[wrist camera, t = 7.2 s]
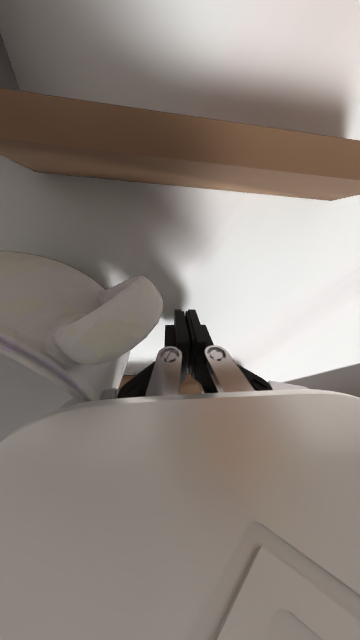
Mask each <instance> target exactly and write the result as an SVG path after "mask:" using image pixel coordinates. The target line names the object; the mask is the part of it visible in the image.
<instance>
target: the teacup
mask: <svg viewBox="0 0 360 640" xmlns="http://www.w3.org/2000/svg"><path fill="white" fill-rule="evenodd" d="M162 312H163V300H162V297H161V295H160V293H159V292H158V290H157V289H156V287H155V286H154V284H153V283H152V282H151V281H150V280H149V279H148V278H146V277H143V276H136V277H133V278H131V279H128V280H126V281H124V282H123V283H120V284H118V285H116V286H114V287H113V288H110V289H107V290H105V289H104V288H103V287H101V286H100V285H99V284H98V283H96V282H95V281H94V280H93V279H91V278H90V277H88V276H87V275H85V274H83V273H82V272H80V271H78V270H76V269H74V268H72V267H70V266H68V265H66V264H64V263H61V262H58V261H55V260H52V259H49V258H45V257H42V256H37V255H32V254H27V253H20V252H13V251H0V442H1V441H2V440H3V439H5V438H6V437H7V436H8V435H10V434H11V433H12V432H13V431H15V430H16V429H18V428H19V427H21V426H22V425H24V424H26V423H28V422H30V421H32V420H34V419H36V418H38V417H40V416H42V415H44V414H47V413H49V412H52V411H55V410H57V409H60V408H61V407H62V406H63V405H64V404H65V403H66V402H68V401H69V400H71V399H75V400H76V401H77V402H78V403H83V402H88V401H97V400H99V399H100V396H101V393H102V391H103V390H107V389H111V388H116V389H118V387H119V385H120V382H121V379H122V377H123V374H124V371H125V368H126V365H127V361H128V358H129V354H130V350H131V349H133V348H134V347H135V346H136V345H137V344H139V343H140V342H141V341H142V340H144V339H145V338H146V337H147V336H148V334H149V333H150V332H151V331H152V329H153V328H154V327H155V326H156V325H157V323H158V322H159V319H160V317H161V315H162Z"/></svg>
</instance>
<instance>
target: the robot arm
mask: <svg viewBox="0 0 360 640" xmlns="http://www.w3.org/2000/svg"><path fill="white" fill-rule="evenodd" d="M187 368H188V373H189V374H191V375H192V379H195V380H196V381H198V382H199V388H200V390H201V393H202V394H184V395H179V392H180V385H181V384H182V383H183V382H184V380H185V377H186V374H187ZM0 640H360V398H359V397H355V396H352V395H348V394H344V393H338V392H333V391H325V390H311V389H308V388H306V387H303V386H297V385H292V384H286V383H280V382H274V381H268V382H266V381H265V380H264V379H262V378H261V377H259V376H257V375H255V374H254V373H252V372H250V371H248V370H246V369H245V368H243V367H241V366H239V365H237V364H236V363H235V362H234V360H233V359H232V358H231V356H230V355H229V353H228V352H227V351H226V350H225V349H224V348H222V347H220V346H216V345H214V344H213V342H212V340H211V337H210V335H209V332H208V330H207V328H206V326H205V325H201V324H200V322H199V319H198V316H197V313H196V311H195V310H188V311H186V313H185V314H184V311H181V310H175V313H174V325H165V347H164V348H162V349H161V350H160V351H159V352H158V354H157V358H156V361H155V362H153V363H152V364H151V365H149V366H148V367H147V368H145V369H144V370H143V371H141V372H140V373H139V374H137V375H136V376H135V377H133V378H132V379H131V380H129V381H128V382H127V383H125V384H124V385H123V386H122V387H121V388H119V389H116V388H111V389H107V390H103V391H102V393H101V396H100V399H99V400H97V401H88V402H83V403H78V402H77V401H76V400H75V399H71V400H69V401H68V402H66V403H65V404H64V405H63V406H62V407H61V408H60V409H57V410H55V411H52V412H49V413H47V414H44V415H42V416H40V417H38V418H36V419H34V420H32V421H30V422H28V423H26V424H24V425H22V426H21V427H19V428H18V429H16V430H15V431H13V432H12V433H11V434H10V435H8V436H7V437H6V438H5V439H3V440H2V441H1V442H0Z"/></svg>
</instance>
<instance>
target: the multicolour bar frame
mask: <svg viewBox="0 0 360 640" xmlns="http://www.w3.org/2000/svg"><path fill="white" fill-rule="evenodd" d="M0 155H2V156H4V157H6V158H9V159H11V160H13V161H15V162H17V163H19V164H21V165H23V166H25V167H27V168H29V169H31V170H33V171H35V172H42V173H52V174H62V175H72V176H83V177H93V178H103V179H114V180H124V181H134V182H144V183H155V184H165V185H175V186H185V187H196V188H206V189H216V190H227V191H237V192H247V193H257V194H268V195H278V196H288V197H298V198H309V199H319V200H329V201H332V200H337V199H341V198H346V197H350V196H355V195H360V141H358V140H352V139H345V138H338V137H331V136H324V135H317V134H310V133H304V132H297V131H290V130H283V129H276V128H269V127H262V126H256V125H249V124H242V123H235V122H228V121H221V120H215V119H208V118H201V117H194V116H187V115H180V114H173V113H167V112H160V111H153V110H146V109H139V108H132V107H125V106H119V105H112V104H105V103H98V102H91V101H84V100H77V99H71V98H64V97H57V96H50V95H43V94H36V93H30V92H23V91H19V89H18V86H17V83H16V80H15V77H14V74H13V71H12V68H11V65H10V62H9V59H8V56H7V53H6V50H5V47H4V44H3V41H2V38H1V35H0ZM135 376H136V375H128V376H123V377H122V379H121V382H120V385H119V387H118V389H119V388H121V387H122V386H123V385H124V384H125V383H127V382H128V381H129V380H131V379H132V378H133V377H135ZM184 394H202V393H201V390H200V388H199V382H198V381H196V380H195V379H192V375H191V374H186V377H185V380H184V382H183V383H182V384H181V385H180V392H179V395H184Z"/></svg>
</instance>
